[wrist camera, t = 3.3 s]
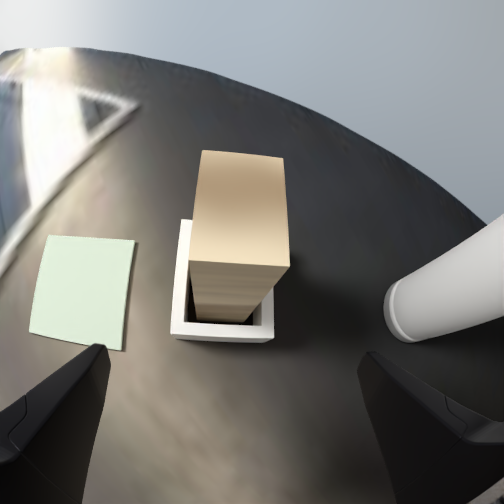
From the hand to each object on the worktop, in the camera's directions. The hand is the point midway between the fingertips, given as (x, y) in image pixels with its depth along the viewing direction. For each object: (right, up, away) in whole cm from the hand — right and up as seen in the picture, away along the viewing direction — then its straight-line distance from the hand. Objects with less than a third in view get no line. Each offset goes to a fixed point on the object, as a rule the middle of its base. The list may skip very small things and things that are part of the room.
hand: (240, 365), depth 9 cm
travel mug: (+15, -2, +15) cm, 22 cm away
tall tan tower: (-2, +1, +13) cm, 13 cm away
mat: (-14, +1, +11) cm, 18 cm away
